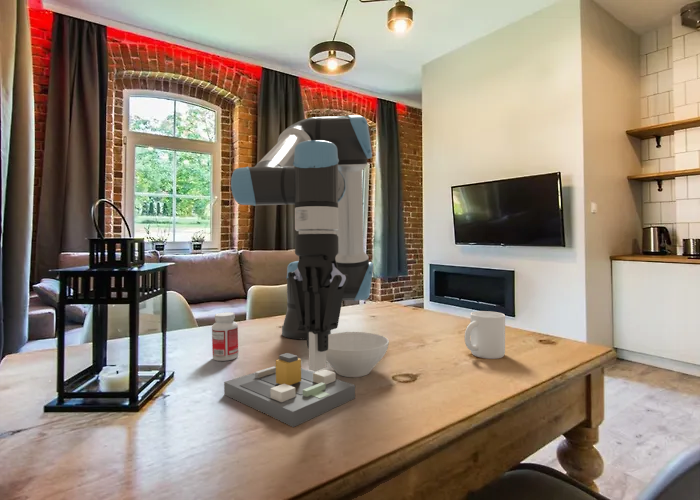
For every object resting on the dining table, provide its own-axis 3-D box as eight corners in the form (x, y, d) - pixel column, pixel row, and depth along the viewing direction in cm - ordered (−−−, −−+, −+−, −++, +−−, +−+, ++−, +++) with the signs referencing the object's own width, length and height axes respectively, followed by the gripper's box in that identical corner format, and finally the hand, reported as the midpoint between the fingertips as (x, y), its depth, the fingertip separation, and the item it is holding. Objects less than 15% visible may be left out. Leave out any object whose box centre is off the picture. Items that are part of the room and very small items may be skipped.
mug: (478, 363, 94) (478, 320, 94) (452, 355, 101) (452, 314, 101) (512, 356, 100) (512, 315, 99) (486, 348, 107) (486, 309, 107)
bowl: (366, 390, 78) (366, 354, 78) (302, 375, 87) (302, 343, 86) (400, 367, 92) (400, 337, 91) (342, 356, 100) (342, 329, 100)
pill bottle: (237, 353, 104) (236, 311, 104) (239, 360, 98) (238, 315, 98) (212, 355, 102) (211, 312, 101) (212, 362, 96) (211, 317, 96)
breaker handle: (275, 382, 75) (275, 356, 75) (290, 377, 78) (290, 351, 77) (286, 386, 73) (286, 359, 73) (301, 381, 76) (300, 354, 75)
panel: (224, 394, 76) (224, 373, 76) (285, 374, 88) (285, 355, 87) (293, 427, 63) (292, 401, 63) (354, 398, 74) (354, 375, 74)
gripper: (275, 233, 71) (277, 366, 71) (328, 231, 62) (329, 383, 62) (307, 233, 76) (308, 356, 77) (359, 232, 68) (360, 371, 68)
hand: (317, 368), depth 70 cm, fingers closed
